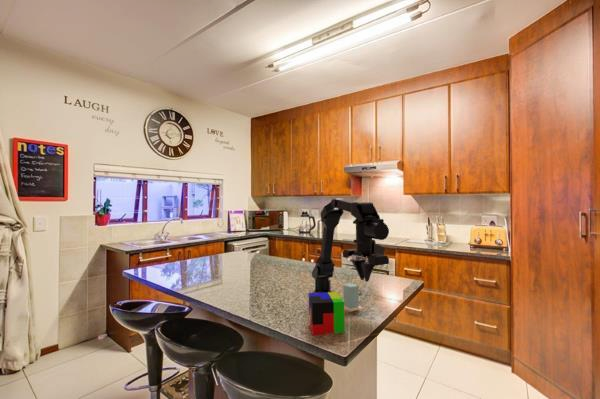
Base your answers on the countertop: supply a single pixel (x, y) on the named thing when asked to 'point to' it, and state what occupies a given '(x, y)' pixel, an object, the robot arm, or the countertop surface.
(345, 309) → the mat
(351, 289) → the pillar
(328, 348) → the countertop surface
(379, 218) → the robot arm
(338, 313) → the puzzle toy
